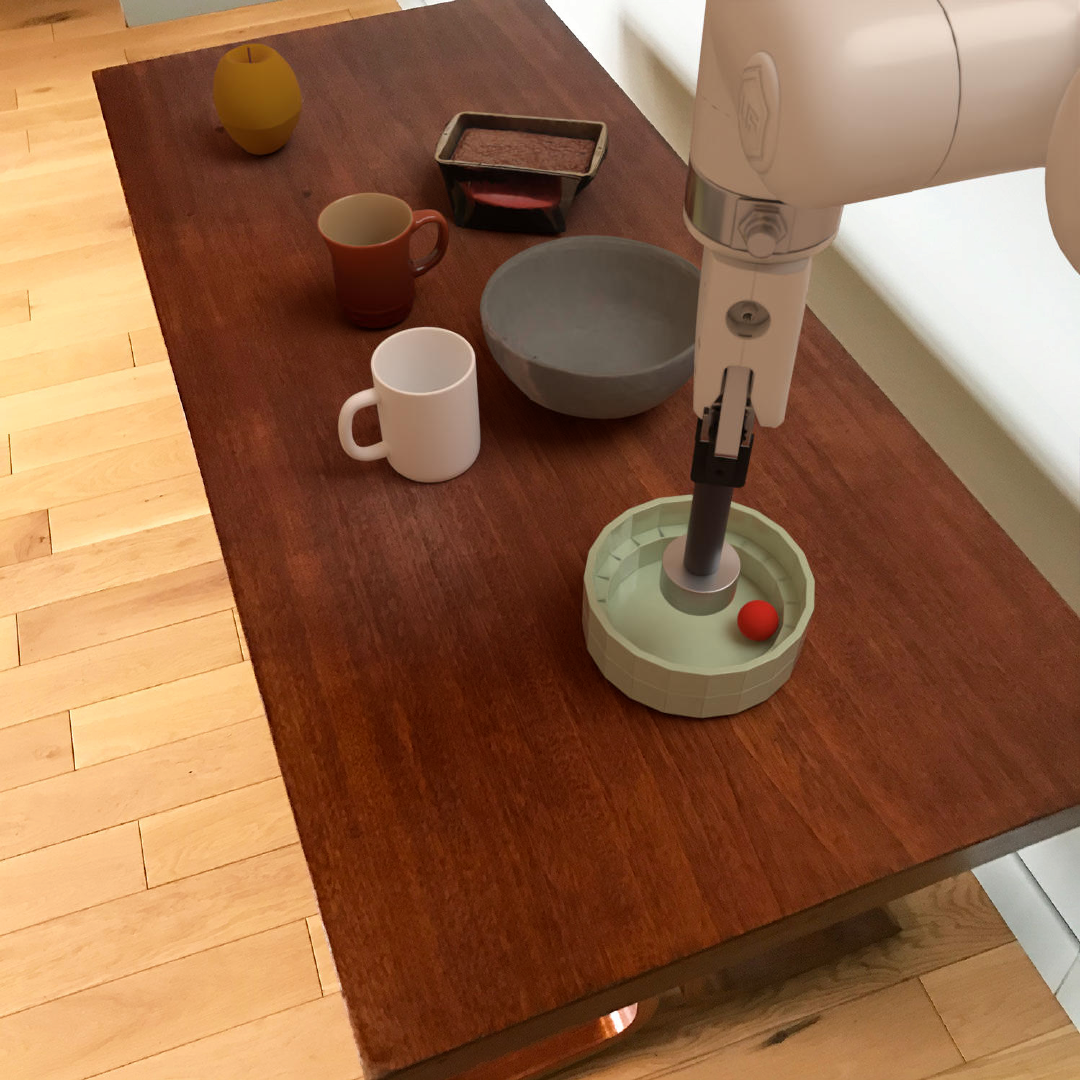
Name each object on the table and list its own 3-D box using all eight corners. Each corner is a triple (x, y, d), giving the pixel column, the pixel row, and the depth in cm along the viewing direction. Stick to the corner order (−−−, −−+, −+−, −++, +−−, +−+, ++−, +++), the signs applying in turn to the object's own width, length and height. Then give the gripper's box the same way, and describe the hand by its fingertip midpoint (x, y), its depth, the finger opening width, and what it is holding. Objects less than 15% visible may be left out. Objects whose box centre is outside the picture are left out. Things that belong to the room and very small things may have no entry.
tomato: (774, 651, 82) (781, 627, 79) (733, 646, 82) (738, 621, 80) (776, 619, 83) (782, 594, 81) (735, 613, 84) (741, 589, 82)
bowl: (752, 407, 99) (769, 318, 92) (559, 496, 93) (560, 407, 85) (624, 290, 111) (630, 201, 103) (444, 361, 104) (436, 272, 96)
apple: (295, 174, 125) (276, 73, 116) (212, 167, 126) (187, 66, 117) (320, 129, 131) (303, 30, 122) (240, 123, 132) (218, 24, 123)
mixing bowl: (797, 737, 78) (812, 690, 73) (567, 703, 79) (568, 655, 75) (802, 560, 88) (816, 509, 83) (599, 534, 90) (601, 483, 85)
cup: (497, 464, 95) (493, 373, 87) (367, 514, 91) (350, 424, 84) (455, 406, 100) (447, 315, 92) (330, 452, 96) (311, 361, 88)
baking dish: (476, 171, 129) (456, 91, 121) (627, 172, 123) (616, 88, 116) (438, 251, 120) (414, 170, 113) (597, 255, 115) (583, 170, 107)
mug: (345, 347, 105) (328, 255, 97) (324, 293, 111) (307, 202, 103) (466, 319, 108) (460, 228, 100) (440, 268, 113) (432, 178, 105)
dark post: (733, 621, 74) (774, 430, 61) (655, 610, 75) (679, 419, 61) (737, 561, 77) (778, 368, 64) (663, 551, 78) (687, 358, 65)
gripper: (845, 304, 47) (776, 574, 61) (844, 112, 58) (786, 381, 72) (669, 286, 48) (641, 556, 62) (699, 100, 58) (669, 368, 73)
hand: (719, 461), depth 67 cm, fingers closed on dark post, 2 cm apart
